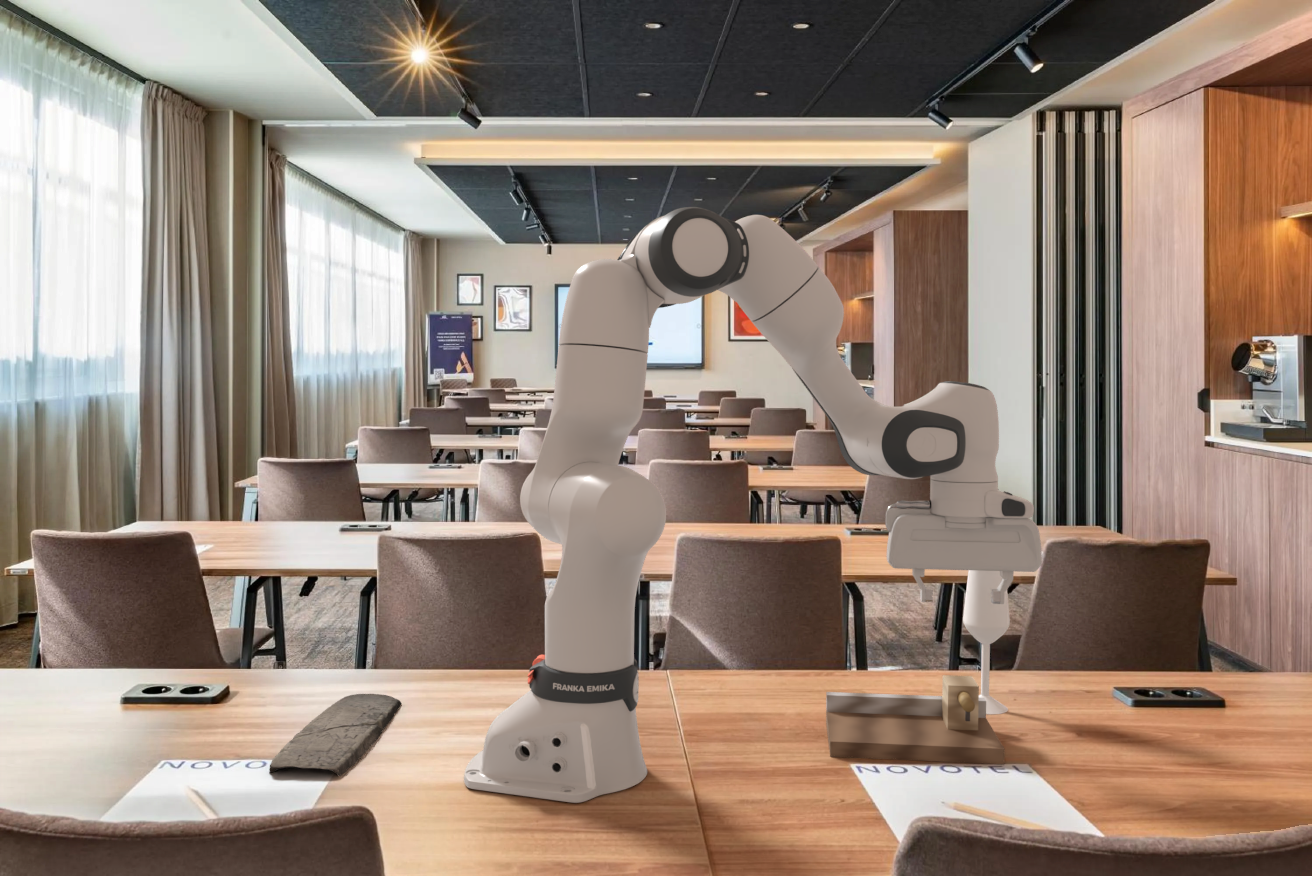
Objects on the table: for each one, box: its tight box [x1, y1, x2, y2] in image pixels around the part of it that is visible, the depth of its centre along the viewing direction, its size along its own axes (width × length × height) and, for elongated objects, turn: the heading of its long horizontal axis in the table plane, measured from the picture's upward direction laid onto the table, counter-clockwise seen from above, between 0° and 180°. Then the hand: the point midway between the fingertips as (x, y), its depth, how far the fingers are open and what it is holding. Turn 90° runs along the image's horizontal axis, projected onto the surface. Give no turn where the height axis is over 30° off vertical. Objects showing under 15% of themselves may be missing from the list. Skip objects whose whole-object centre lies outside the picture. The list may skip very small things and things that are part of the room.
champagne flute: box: [962, 570, 1011, 715], centre depth 156 cm, size 7×7×24 cm
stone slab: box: [269, 693, 402, 777], centre depth 143 cm, size 10×3×30 cm
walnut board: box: [825, 691, 1005, 765], centre depth 141 cm, size 22×14×4 cm, turn 83°
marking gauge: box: [941, 674, 980, 730], centre depth 140 cm, size 4×9×6 cm, turn 173°
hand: (961, 602), depth 141 cm, fingers open, 8 cm apart
